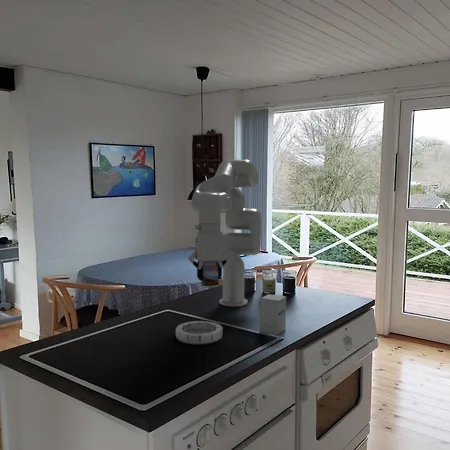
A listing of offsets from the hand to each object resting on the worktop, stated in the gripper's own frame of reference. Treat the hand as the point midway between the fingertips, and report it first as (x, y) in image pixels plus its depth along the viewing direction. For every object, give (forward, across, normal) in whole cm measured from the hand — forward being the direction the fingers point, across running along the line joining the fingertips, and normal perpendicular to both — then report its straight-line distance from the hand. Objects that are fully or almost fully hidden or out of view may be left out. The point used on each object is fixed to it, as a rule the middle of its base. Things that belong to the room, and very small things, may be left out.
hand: (209, 278), depth 161 cm
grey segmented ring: (+20, -4, -1) cm, 21 cm away
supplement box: (+20, +23, -5) cm, 31 cm away
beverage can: (+3, 0, 0) cm, 3 cm away
